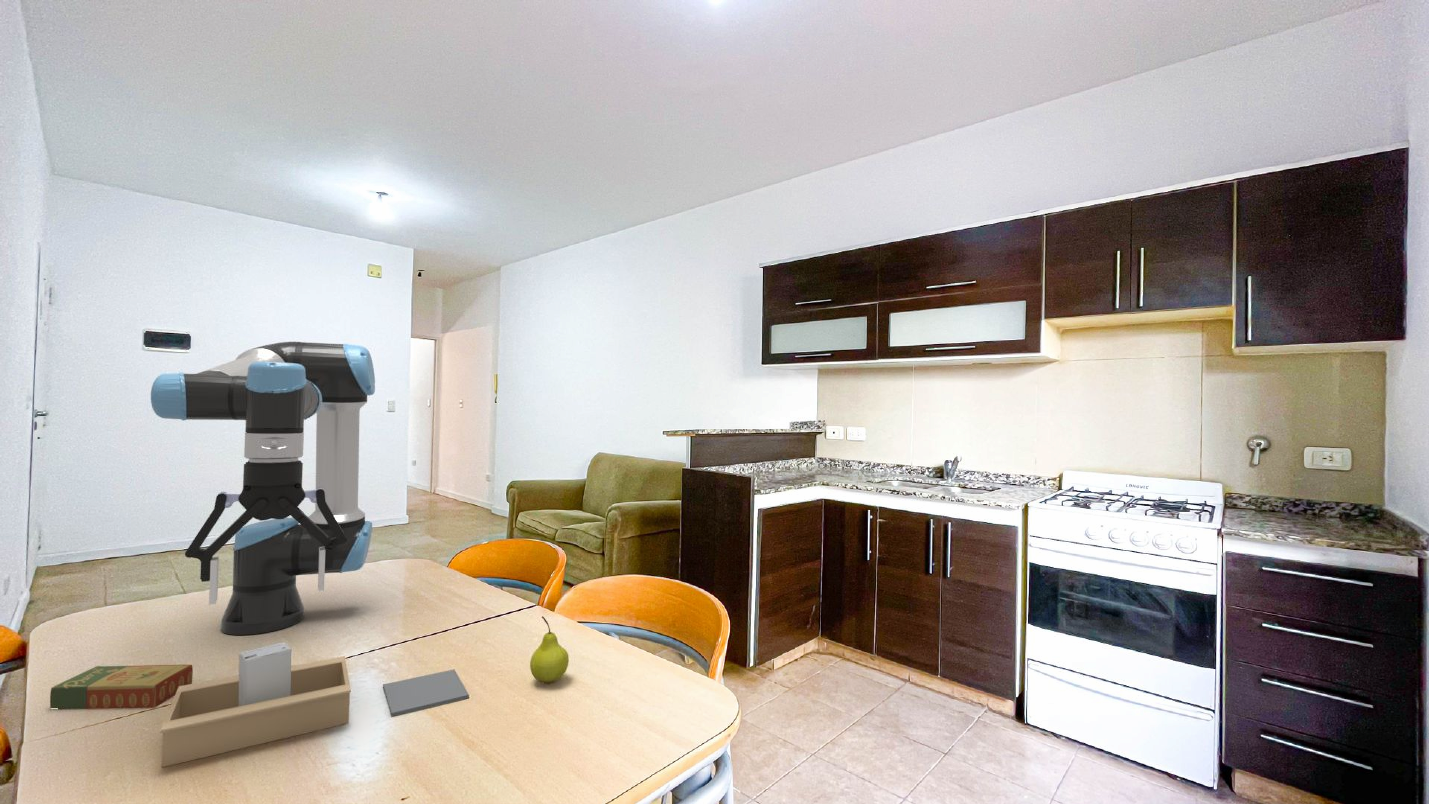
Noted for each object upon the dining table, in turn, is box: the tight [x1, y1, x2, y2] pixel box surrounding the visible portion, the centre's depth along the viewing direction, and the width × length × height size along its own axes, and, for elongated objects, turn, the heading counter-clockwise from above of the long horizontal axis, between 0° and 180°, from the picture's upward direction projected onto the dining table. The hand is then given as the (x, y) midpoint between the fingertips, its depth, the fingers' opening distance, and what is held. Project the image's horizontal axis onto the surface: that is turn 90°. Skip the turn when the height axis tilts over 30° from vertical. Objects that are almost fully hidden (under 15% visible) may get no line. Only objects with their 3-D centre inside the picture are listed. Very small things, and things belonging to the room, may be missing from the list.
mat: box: [382, 669, 470, 718], centre depth 106 cm, size 12×12×1 cm
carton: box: [49, 664, 193, 710], centre depth 102 cm, size 8×16×4 cm, turn 95°
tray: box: [160, 655, 352, 768], centre depth 94 cm, size 15×22×6 cm
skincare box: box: [238, 641, 292, 706], centre depth 94 cm, size 6×4×12 cm
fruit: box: [529, 615, 570, 685], centre depth 112 cm, size 7×7×12 cm
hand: (269, 595), depth 94 cm, fingers open, 13 cm apart
